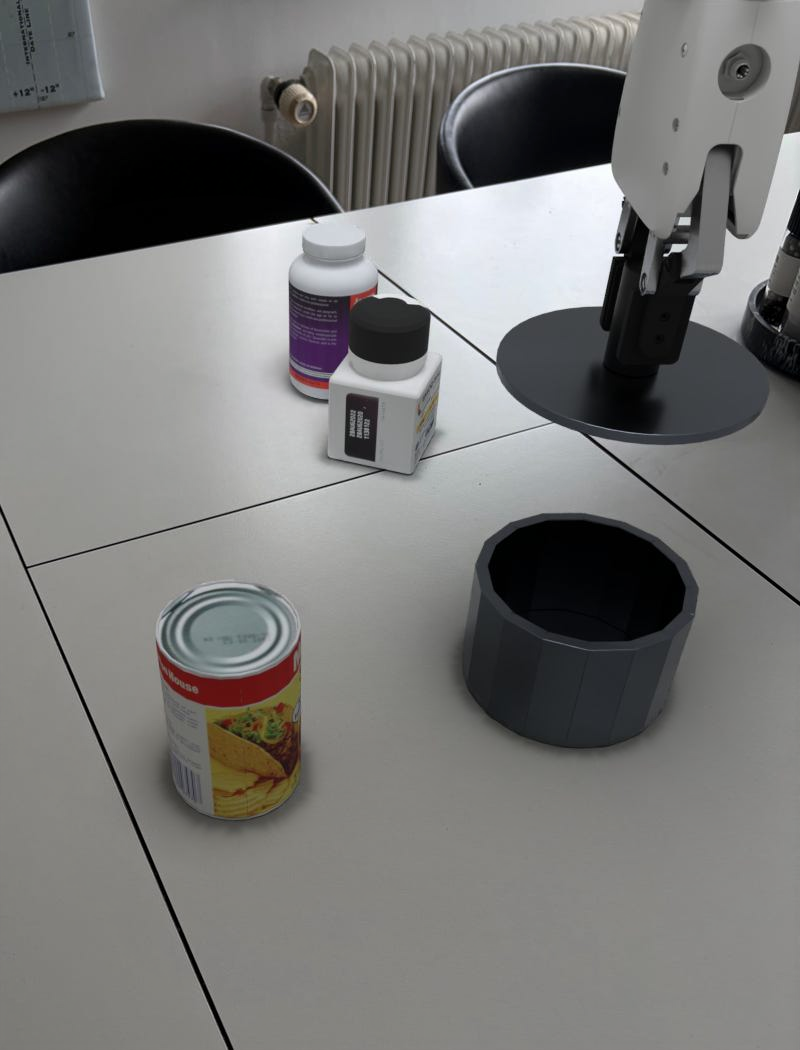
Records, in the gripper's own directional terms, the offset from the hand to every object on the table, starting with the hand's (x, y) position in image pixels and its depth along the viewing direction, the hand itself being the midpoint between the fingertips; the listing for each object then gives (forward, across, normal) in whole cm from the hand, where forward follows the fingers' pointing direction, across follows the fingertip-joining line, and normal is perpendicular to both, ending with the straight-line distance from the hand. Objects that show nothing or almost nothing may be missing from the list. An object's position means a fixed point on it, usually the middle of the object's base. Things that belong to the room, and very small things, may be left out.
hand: (637, 342), depth 56 cm
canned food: (+24, -10, +22) cm, 34 cm away
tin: (+24, -1, 0) cm, 24 cm away
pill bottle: (+24, +38, +14) cm, 47 cm away
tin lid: (+2, 0, 0) cm, 2 cm away
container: (+24, +28, +10) cm, 38 cm away
